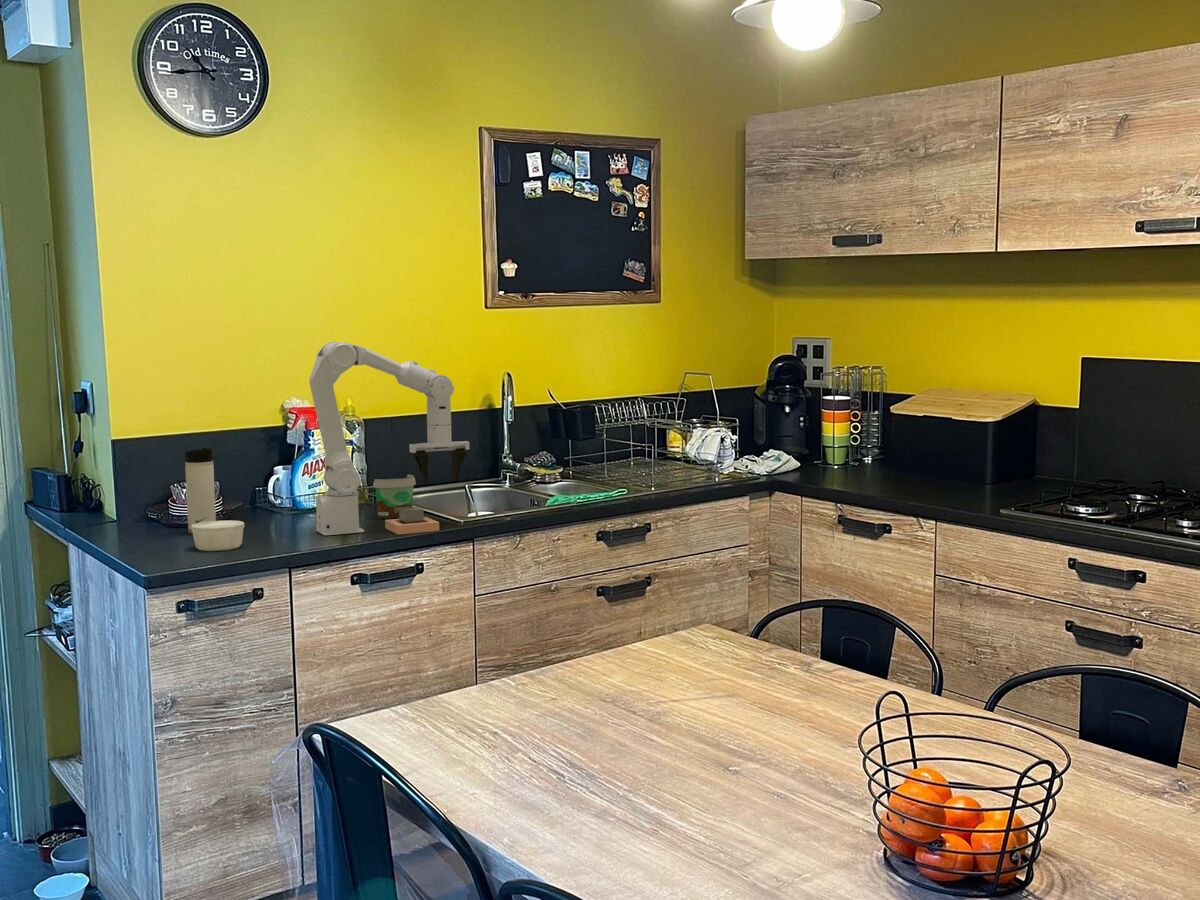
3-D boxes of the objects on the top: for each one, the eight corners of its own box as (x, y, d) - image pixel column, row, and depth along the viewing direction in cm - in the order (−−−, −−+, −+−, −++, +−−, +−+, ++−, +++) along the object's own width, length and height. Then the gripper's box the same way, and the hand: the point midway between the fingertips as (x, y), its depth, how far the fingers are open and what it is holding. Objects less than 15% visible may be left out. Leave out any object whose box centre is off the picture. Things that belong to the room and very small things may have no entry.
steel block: (405, 532, 276) (404, 510, 276) (399, 529, 280) (399, 508, 280) (424, 530, 278) (423, 509, 278) (418, 527, 282) (417, 506, 282)
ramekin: (212, 542, 266) (210, 519, 265) (255, 544, 262) (254, 520, 262) (180, 551, 255) (179, 527, 254) (226, 553, 252) (224, 528, 251)
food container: (391, 521, 292) (389, 480, 291) (374, 519, 296) (372, 479, 295) (427, 514, 302) (426, 475, 301) (410, 512, 306) (409, 474, 305)
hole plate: (397, 534, 272) (397, 525, 272) (385, 528, 281) (385, 520, 281) (439, 530, 277) (439, 522, 277) (425, 524, 286) (425, 516, 286)
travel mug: (201, 535, 275) (197, 449, 273) (182, 532, 278) (178, 447, 276) (223, 531, 280) (219, 446, 278) (204, 529, 283) (200, 445, 281)
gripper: (461, 422, 292) (463, 477, 293) (404, 425, 285) (406, 481, 287) (472, 424, 286) (473, 480, 287) (414, 426, 279) (415, 484, 281)
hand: (440, 480), depth 286 cm, fingers open, 7 cm apart
